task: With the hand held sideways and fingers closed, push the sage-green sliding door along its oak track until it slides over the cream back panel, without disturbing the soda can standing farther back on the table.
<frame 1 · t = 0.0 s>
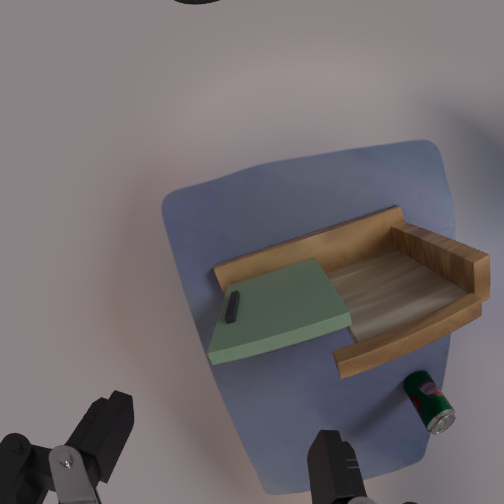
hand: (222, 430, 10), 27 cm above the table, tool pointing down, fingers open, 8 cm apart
door frame: (315, 264, 36), on the table
soda can: (414, 379, 41), on the table
door: (274, 298, 27), point 9 cm above the table, slide at 0.0 cm
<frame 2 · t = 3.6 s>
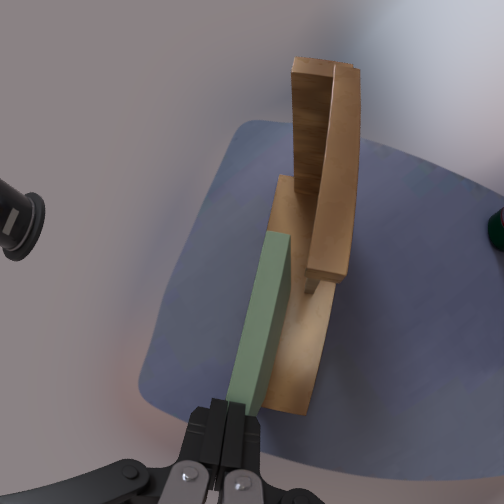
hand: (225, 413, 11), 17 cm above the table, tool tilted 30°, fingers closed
door frame: (293, 292, 29), on the table
soda can: (497, 234, 28), on the table
door: (261, 342, 20), point 9 cm above the table, slide at 0.2 cm, touching gripper
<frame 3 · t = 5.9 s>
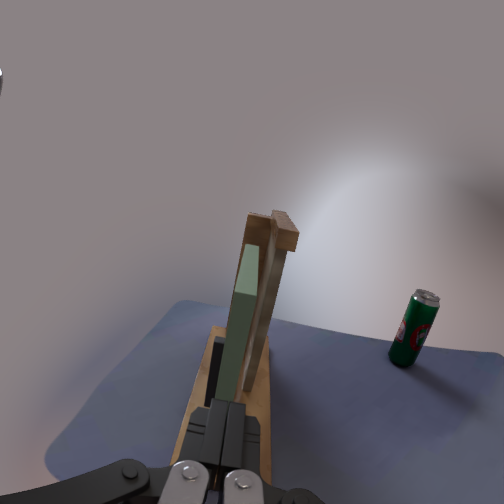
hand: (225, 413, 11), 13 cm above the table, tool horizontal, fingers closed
door frame: (230, 398, 28), on the table
soda can: (399, 361, 41), on the table
door: (227, 349, 22), point 9 cm above the table, slide at 1.6 cm
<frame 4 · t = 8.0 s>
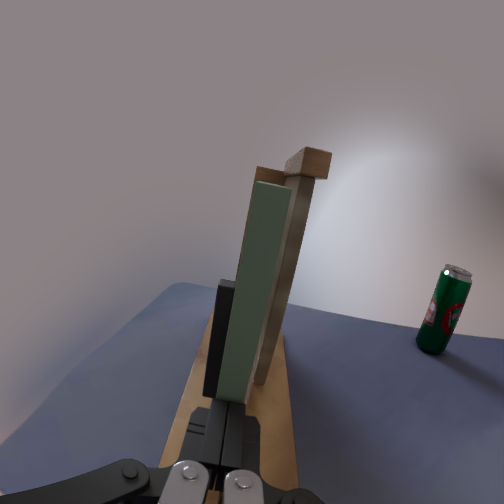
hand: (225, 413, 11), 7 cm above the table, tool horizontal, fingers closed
door frame: (237, 394, 22), on the table
soda can: (428, 348, 34), on the table
door: (236, 315, 16), point 9 cm above the table, slide at 2.0 cm, touching gripper
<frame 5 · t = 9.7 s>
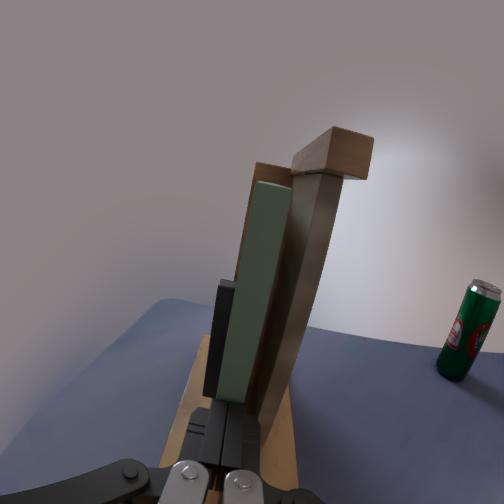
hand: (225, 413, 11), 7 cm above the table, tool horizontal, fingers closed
door frame: (230, 453, 16), on the table
soda can: (449, 372, 28), on the table
door: (237, 314, 16), point 9 cm above the table, slide at 8.4 cm, touching gripper
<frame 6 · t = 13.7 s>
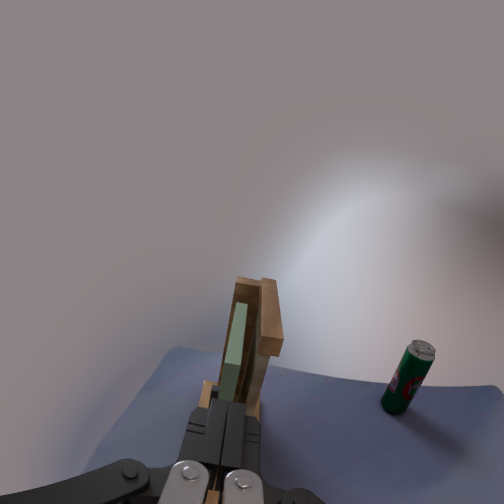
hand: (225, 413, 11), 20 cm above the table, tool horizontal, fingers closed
door frame: (221, 459, 26), on the table
soda can: (392, 406, 38), on the table
door: (223, 388, 27), point 9 cm above the table, slide at 8.5 cm
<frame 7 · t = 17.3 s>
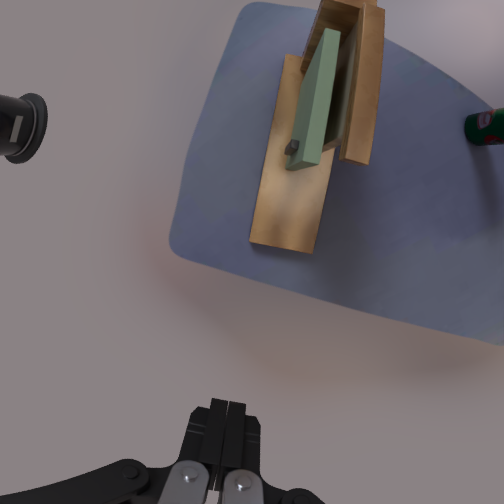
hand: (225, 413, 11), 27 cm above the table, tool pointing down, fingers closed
door frame: (299, 152, 34), on the table
soda can: (472, 130, 32), on the table
door: (304, 111, 24), point 9 cm above the table, slide at 8.5 cm
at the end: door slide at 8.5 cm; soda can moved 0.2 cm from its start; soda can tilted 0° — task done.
